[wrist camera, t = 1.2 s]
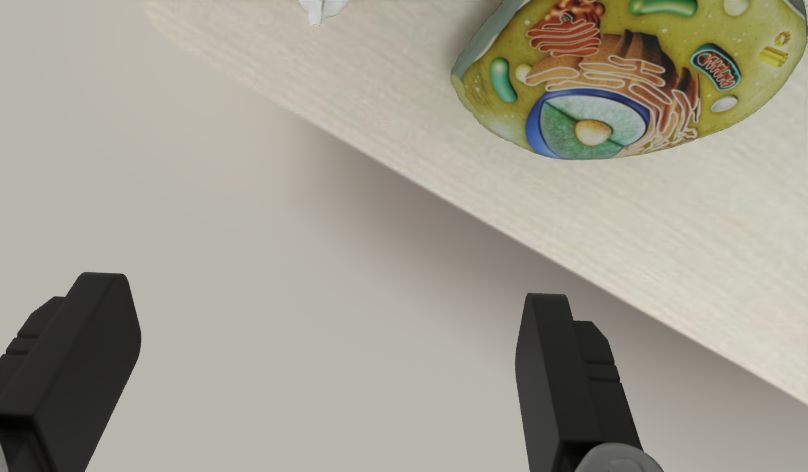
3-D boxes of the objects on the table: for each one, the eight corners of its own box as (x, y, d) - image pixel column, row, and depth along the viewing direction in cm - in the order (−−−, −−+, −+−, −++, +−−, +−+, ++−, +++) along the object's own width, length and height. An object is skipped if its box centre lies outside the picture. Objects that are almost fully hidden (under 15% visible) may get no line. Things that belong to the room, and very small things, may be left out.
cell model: (788, 139, 34) (518, 241, 31) (686, 63, 39) (447, 144, 36) (878, -84, 26) (527, 24, 23) (735, -143, 31) (434, -61, 28)
